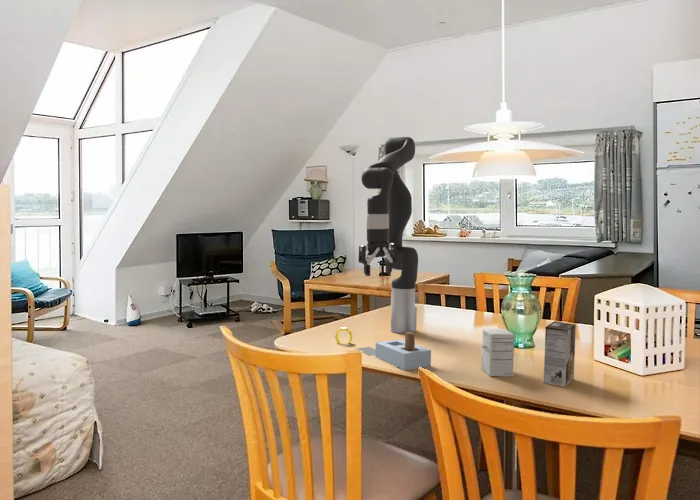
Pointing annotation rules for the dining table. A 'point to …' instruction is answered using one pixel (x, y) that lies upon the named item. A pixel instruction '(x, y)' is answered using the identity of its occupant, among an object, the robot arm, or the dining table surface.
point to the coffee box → (559, 353)
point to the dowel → (409, 341)
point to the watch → (343, 330)
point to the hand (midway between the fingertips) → (378, 274)
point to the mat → (368, 350)
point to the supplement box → (498, 352)
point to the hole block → (403, 355)
